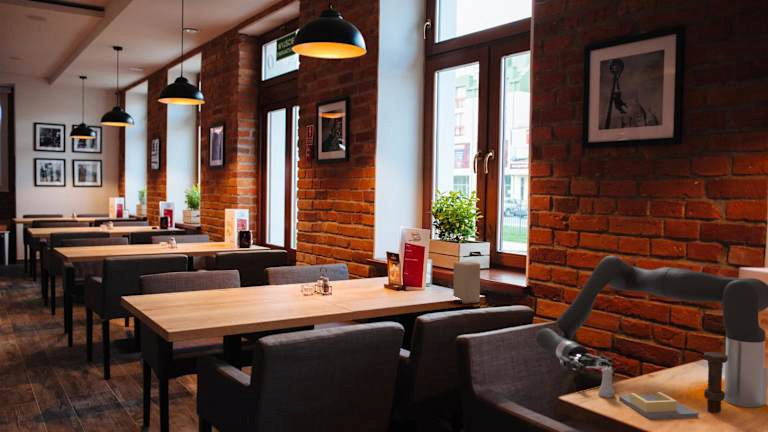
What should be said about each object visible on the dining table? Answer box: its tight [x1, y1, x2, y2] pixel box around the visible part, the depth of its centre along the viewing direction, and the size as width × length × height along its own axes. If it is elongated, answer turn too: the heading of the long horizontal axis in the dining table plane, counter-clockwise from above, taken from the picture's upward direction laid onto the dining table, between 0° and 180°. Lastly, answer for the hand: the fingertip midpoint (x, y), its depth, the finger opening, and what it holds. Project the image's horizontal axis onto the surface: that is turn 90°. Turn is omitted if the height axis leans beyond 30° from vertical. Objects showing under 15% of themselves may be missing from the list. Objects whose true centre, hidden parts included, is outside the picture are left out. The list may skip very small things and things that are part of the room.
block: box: [452, 260, 481, 304], centre depth 327 cm, size 10×10×20 cm
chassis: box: [618, 391, 699, 421], centre depth 169 cm, size 13×15×4 cm
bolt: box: [703, 351, 728, 414], centre depth 166 cm, size 6×5×15 cm
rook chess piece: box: [598, 366, 616, 399], centre depth 179 cm, size 4×4×8 cm
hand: (597, 368), depth 184 cm, fingers open, 8 cm apart
